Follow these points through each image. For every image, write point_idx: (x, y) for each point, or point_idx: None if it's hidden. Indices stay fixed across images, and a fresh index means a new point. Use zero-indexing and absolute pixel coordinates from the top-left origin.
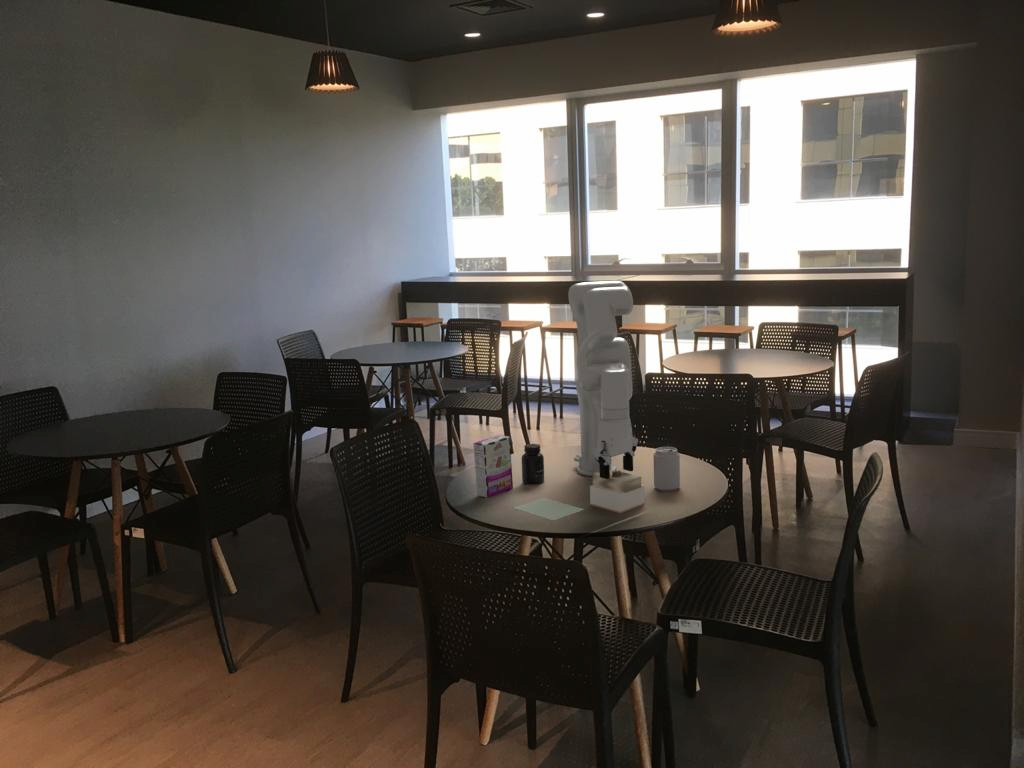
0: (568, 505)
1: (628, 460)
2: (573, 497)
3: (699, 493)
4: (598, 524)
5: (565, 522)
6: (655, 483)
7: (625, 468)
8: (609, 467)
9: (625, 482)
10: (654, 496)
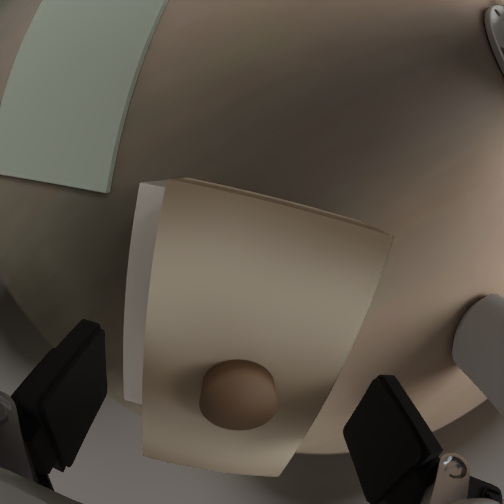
0: (119, 99)
1: (376, 473)
2: (265, 43)
3: (440, 408)
4: (47, 309)
5: (7, 203)
6: (475, 319)
7: (369, 400)
8: (76, 453)
9: (143, 453)
10: (405, 342)
